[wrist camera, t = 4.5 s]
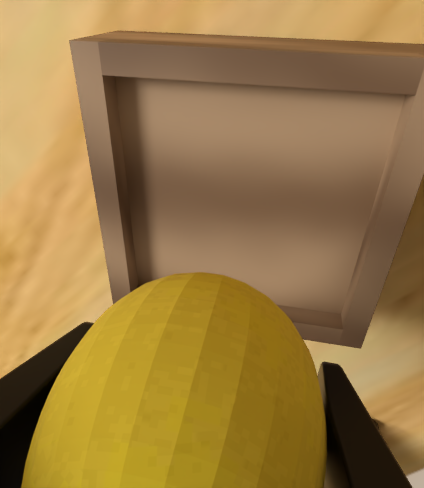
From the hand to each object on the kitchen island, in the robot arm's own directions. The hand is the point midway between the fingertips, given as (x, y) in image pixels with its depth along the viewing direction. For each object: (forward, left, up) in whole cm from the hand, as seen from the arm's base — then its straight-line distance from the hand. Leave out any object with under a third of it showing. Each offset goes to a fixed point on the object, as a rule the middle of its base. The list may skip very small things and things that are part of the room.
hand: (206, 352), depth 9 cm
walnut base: (0, 0, -11) cm, 11 cm away
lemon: (0, 0, -2) cm, 2 cm away
